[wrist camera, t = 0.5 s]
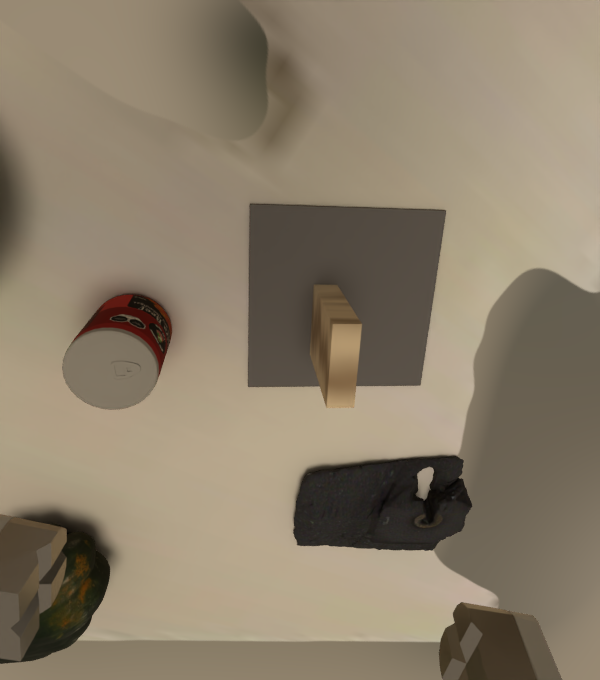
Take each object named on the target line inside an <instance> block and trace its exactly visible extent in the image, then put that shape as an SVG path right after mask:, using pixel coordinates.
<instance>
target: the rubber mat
mask: <svg viewBox="0 0 600 680" xmlns="http://www.w3.org/2000/svg"><path fill="white" fill-rule="evenodd" d="M445 216H446V211H445V210H422V209H392V208H361V207H330V206H300V205H269V204H250V252H249V358H248V387H305V386H320V385H319V382H318V379H317V376H316V373H315V369H314V366H313V363H312V360H311V357H310V341H311V324H312V307H313V289H314V284H315V285H338V287H339V288H340V290H341V292H342V293H343V295H344V296H345V298H346V300H347V301H348V303H349V304H350V306H351V307H352V309H353V311H354V312H355V314H356V315H357V317H358V319H359V320H360V322H361V323H362V330H361V340H360V350H359V361H358V371H357V382H356V386H418V385H421V378H422V371H423V364H424V357H425V351H426V344H427V337H428V330H429V324H430V317H431V310H432V303H433V297H434V290H435V283H436V276H437V270H438V263H439V256H440V249H441V243H442V236H443V229H444V222H445Z"/></svg>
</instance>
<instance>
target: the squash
mask: <svg viewBox="0 0 600 680" xmlns="http://www.w3.org/2000/svg"><path fill="white" fill-rule="evenodd" d="M49 525H54V526H58V527H61V526H60V525H57V524H54V523H52V524H49ZM61 551H62V552H63V553H64V555H65V556H66V557H67V558H66V570H65V575H64V579H63V581H62V584H61V587H60V590H59V592H58V594H57V596H56V598H55V600H54V602H53V604H52V606H51V607H50V608H48V609H47V610H45V611H44V612H42V613H41V614H39V629H38V631H37V633H36V635H35V637H34V638H33V640H32V642H31V644H30V646H29V647H28V649H27V651H26V653H25V655H24V656H23V658H22V660H21V661H15V660H8V659H2V658H0V663H1V664H3V663H14V662H25V661H33V660H36V659H40V658H44V657H46V656H48V655H50V654H51V653H53V652H56V651H60V650H62V649H65V648H67V647H69V646H71V645H72V644H73V643H74V642H75V641H76V640H77V639H78V638H79V637H80V636H81V635H82V634H83V633H84V631H85V630H86V629H87V627H88V626H89V624H90V622H91V618H92V615H93V614H94V612H95V611H96V610H97V608H98V607H99V605H100V604H101V602H102V600H103V598H104V595H105V592H106V589H107V586H108V582H109V576H110V566H109V564H108V561H107V560H106V558H105V557H104V556H103V555H102V554H101V553H100V552H98V551H96V547H95V541H94V539H93V538H92V537H91V536H89V535H87V534H86V533H84V532H72V533H70V534H68V535H67V542H66V543H65V545H64V547H63V549H62V550H61Z"/></svg>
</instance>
